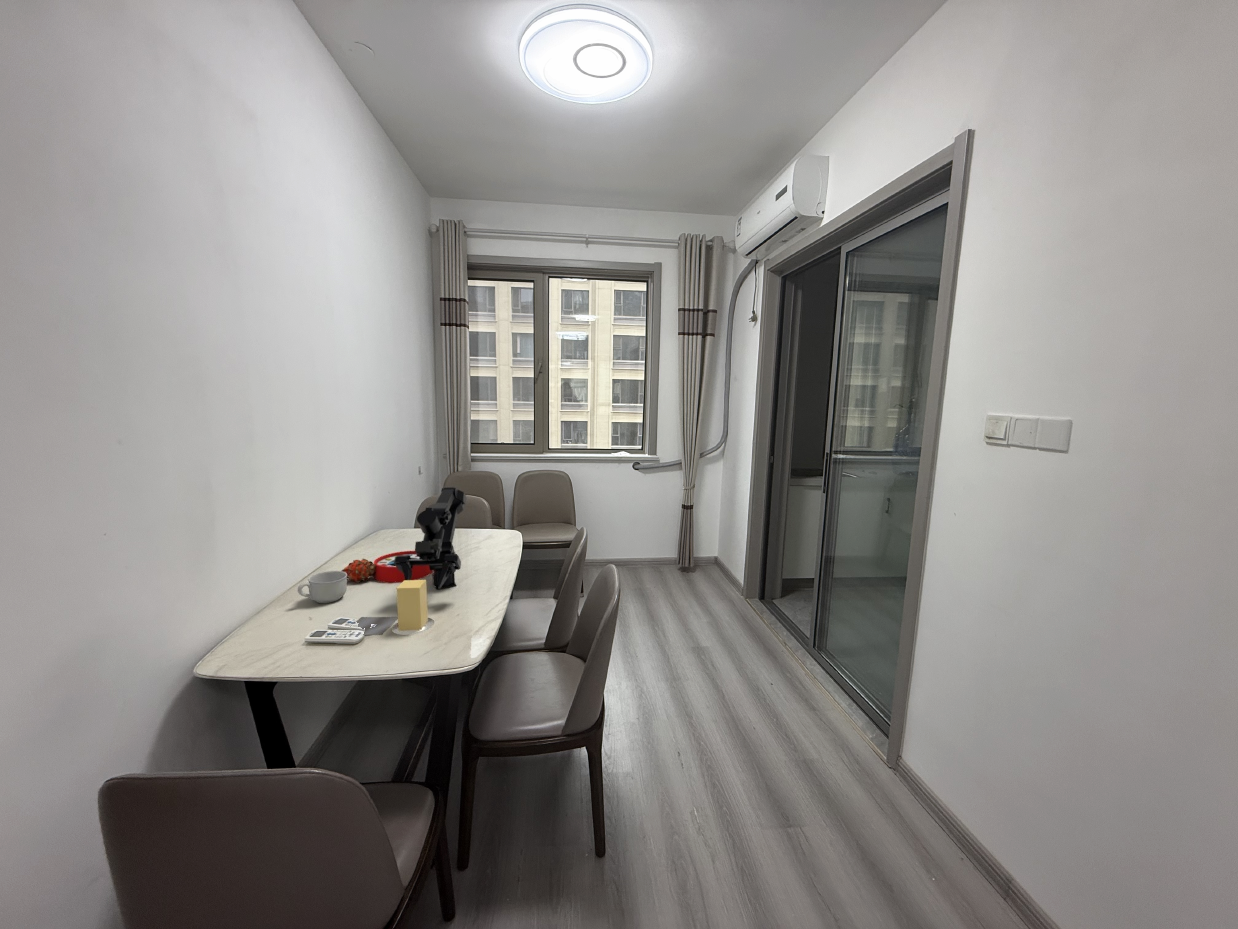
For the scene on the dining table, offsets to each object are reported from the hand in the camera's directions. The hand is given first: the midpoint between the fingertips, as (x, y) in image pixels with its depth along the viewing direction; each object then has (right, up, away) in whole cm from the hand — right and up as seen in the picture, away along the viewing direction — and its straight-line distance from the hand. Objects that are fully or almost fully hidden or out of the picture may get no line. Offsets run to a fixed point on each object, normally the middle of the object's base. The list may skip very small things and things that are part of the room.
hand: (423, 588), depth 143 cm
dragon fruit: (-34, -5, +28) cm, 45 cm away
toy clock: (-22, -4, +37) cm, 43 cm away
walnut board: (-5, -9, -9) cm, 14 cm away
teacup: (-36, -7, +11) cm, 38 cm away
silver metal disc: (+1, -8, -9) cm, 12 cm away
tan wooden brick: (+1, -8, -8) cm, 12 cm away
